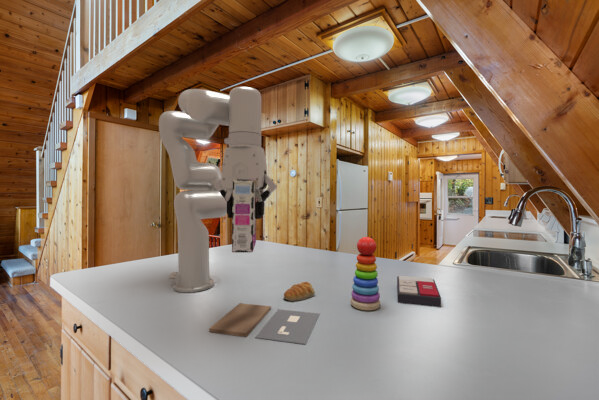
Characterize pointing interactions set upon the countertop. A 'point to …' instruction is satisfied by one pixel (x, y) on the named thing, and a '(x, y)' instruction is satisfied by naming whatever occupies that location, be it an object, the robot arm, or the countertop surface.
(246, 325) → the walnut board
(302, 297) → the pastry
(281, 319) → the tile
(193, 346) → the countertop surface
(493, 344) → the countertop surface
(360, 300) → the stacking toy
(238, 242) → the candy bar box
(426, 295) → the dark flat boxy piece
